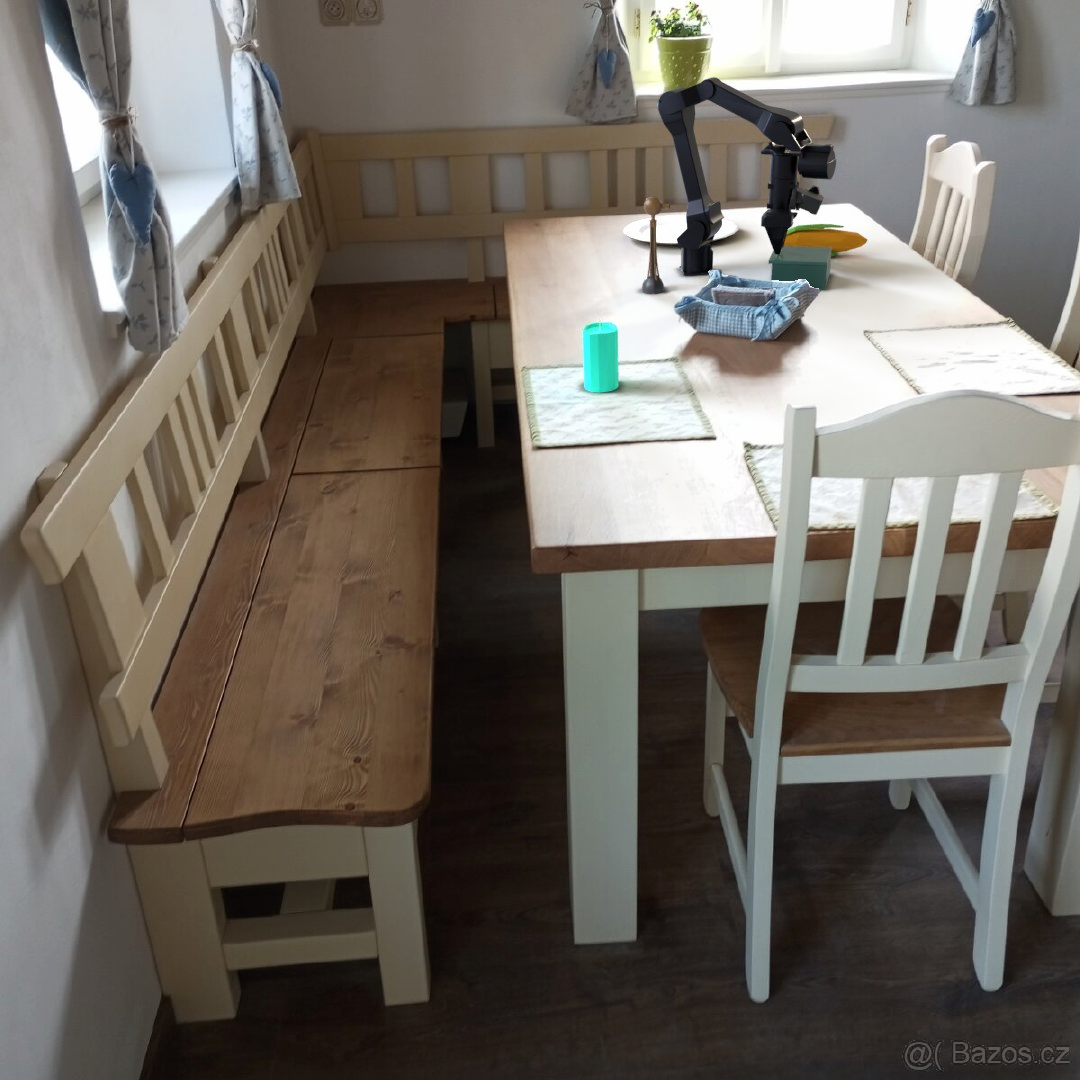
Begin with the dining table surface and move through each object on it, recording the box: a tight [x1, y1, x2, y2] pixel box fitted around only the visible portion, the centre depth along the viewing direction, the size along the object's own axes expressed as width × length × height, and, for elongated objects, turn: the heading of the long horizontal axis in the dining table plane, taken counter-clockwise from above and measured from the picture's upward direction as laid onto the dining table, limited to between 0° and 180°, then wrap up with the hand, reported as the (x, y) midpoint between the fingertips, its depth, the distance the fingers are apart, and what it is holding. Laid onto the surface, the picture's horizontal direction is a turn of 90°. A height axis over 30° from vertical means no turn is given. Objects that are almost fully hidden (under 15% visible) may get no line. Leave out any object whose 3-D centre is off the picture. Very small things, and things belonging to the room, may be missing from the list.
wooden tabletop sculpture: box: [641, 196, 671, 295], centre depth 233 cm, size 6×5×20 cm
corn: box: [784, 223, 868, 257], centre depth 254 cm, size 7×8×20 cm
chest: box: [770, 251, 832, 291], centre depth 237 cm, size 11×12×5 cm
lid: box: [767, 246, 832, 266], centre depth 235 cm, size 12×12×4 cm
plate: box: [623, 214, 739, 247], centre depth 279 cm, size 29×29×2 cm
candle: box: [582, 318, 620, 394], centre depth 186 cm, size 6×6×12 cm
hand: (779, 251), depth 237 cm, fingers closed on lid, 5 cm apart
